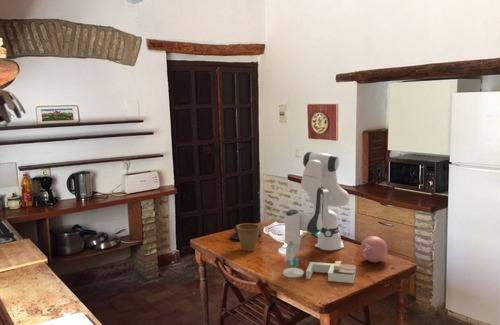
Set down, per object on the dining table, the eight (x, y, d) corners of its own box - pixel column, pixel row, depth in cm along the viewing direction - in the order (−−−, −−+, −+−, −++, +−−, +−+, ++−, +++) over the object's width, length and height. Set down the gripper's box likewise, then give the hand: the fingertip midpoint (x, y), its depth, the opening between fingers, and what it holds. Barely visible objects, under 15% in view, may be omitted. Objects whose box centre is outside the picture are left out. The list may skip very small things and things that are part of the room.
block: (289, 263, 257) (289, 256, 256) (298, 264, 255) (298, 257, 255) (287, 266, 252) (287, 259, 252) (296, 267, 250) (296, 260, 250)
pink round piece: (351, 263, 266) (351, 238, 264) (370, 255, 280) (370, 231, 277) (373, 270, 255) (373, 244, 253) (392, 261, 268) (392, 236, 266)
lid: (335, 265, 252) (335, 259, 252) (355, 267, 249) (355, 261, 248) (333, 272, 242) (333, 267, 241) (354, 274, 238) (354, 268, 238)
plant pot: (247, 255, 287) (246, 231, 284) (233, 249, 298) (232, 226, 296) (264, 249, 296) (264, 226, 293) (250, 244, 307) (249, 221, 305)
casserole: (252, 230, 339) (252, 219, 338) (267, 236, 325) (267, 224, 323) (225, 237, 325) (224, 226, 323) (239, 243, 310) (239, 232, 309)
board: (310, 269, 260) (310, 261, 259) (355, 273, 252) (355, 265, 252) (306, 278, 247) (306, 270, 246) (353, 283, 239) (353, 275, 238)
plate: (285, 268, 262) (285, 267, 262) (305, 270, 258) (305, 268, 258) (280, 276, 251) (280, 275, 251) (301, 278, 247) (301, 276, 247)
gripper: (294, 245, 241) (294, 269, 243) (301, 234, 260) (301, 257, 262) (282, 244, 243) (283, 268, 245) (290, 233, 262) (291, 256, 264)
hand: (293, 262), depth 253 cm, fingers closed on block, 5 cm apart
